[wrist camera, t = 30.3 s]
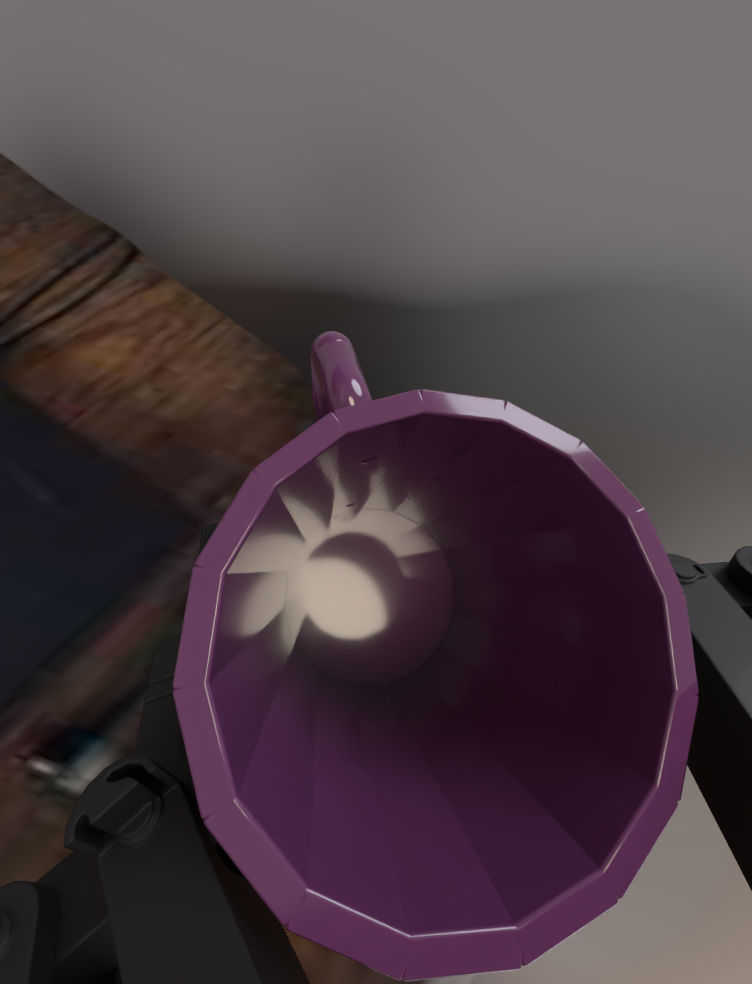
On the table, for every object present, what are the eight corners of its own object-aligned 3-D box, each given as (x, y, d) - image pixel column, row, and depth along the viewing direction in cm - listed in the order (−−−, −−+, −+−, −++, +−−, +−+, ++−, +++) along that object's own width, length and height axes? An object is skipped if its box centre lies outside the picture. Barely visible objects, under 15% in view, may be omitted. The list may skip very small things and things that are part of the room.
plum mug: (485, 648, 16) (782, 792, 6) (308, 726, 15) (273, 1145, 4) (402, 428, 18) (515, 233, 8) (236, 474, 16) (80, 301, 6)
